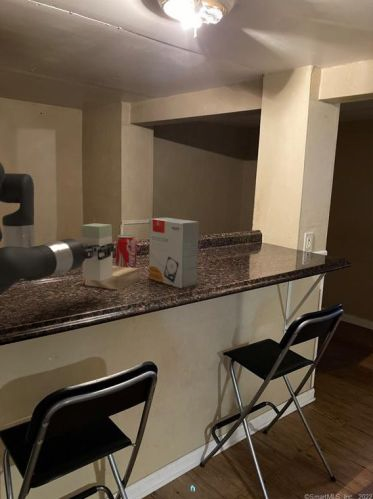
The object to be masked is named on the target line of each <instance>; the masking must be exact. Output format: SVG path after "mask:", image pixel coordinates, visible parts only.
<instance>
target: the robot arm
mask: <svg viewBox="0 0 373 499" xmlns="http://www.w3.org/2000/svg"><path fill="white" fill-rule="evenodd" d="M5 171H6V170H5V167H4V166H3V163H1V162H0V202H1V203H5V204H19V207H18V209H17V210H15V211H14V212H12V213H9V214H5V215H4V216H3V217H2V218H1V222H2V228H1V227H0V242H2V239H3V247H0V295H3V294H4V293H5V292H7V290H9V289H10V288H11V287H12V286H13V285H15V283H17V282H18V281H29V282H32V281H37V280H41V279H44V278H48V277H52V276H57V275H58V276H59V275H61V274H65V273H68V272H71V271H74V270H77V269H79V268H80V267H81V266H83V265H82V263H83V262H84V261H87V260H89V259H94V258H98V260H103V259H105V258H107V257H109V256H111V252H112V253H113V252H114V251H115V244H114V243H113V242H112V243H110V244H105V245H100V246H99V245H98V244H90V245H87V244H82V241H81V242H79V241H78V240H76V239H74V238H64V239H60V240H55V241H54V240H53V241H50V242H46V243H43V244H41V245H40V244H39V245H36V239H35V238H36V237H35V220H34V219H35V186H34V185H35V184H34V180H33V177H32V175H30V174H27V173H15V172H14V173H6V172H5ZM92 247H94V252H93V248H92ZM99 248H100V249H99Z"/></svg>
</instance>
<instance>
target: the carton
mask: <svg viewBox="0 0 373 499" xmlns="http://www.w3.org/2000/svg"><path fill="white" fill-rule="evenodd" d="M81 242H82V244H87V245H90V244H98V245H99V246H100V245H105V244H110V243H113V224H109V223H108V224H107V223H106V224H105V223H95V222H93V223H87V224H82V225H81ZM92 248H93V252H94V247H92ZM99 249H100V248H99ZM81 266H82V279H83V280H85V279H89V280H96V281H102V280H104V279H107V278H110V277H112V276H113V268H112V266H113V252H111V256H109V257H107V258H105V259H103V260H98V258H94V259H89V260H87V261H84V262H83V263H82V265H81Z"/></svg>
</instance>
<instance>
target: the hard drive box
mask: <svg viewBox="0 0 373 499" xmlns="http://www.w3.org/2000/svg"><path fill="white" fill-rule="evenodd" d="M148 220H149V221H148V224H149V225H148V226H149V227H148V228H149V230H148V233H149V234H148V235H149V238H148V241H149V242H148V247H149V248H148V254H149V255H148V258H149V259H148V261H149V262H148V273H149V274H148V276H149V277H148V279H149V280H153V281H155V282H160V283H162V284H166V285H169V286H171V285H172V286H171V287H175V288H177V289H178V288H180V289H183V287H184V288H188V287H192V286H196V285H198V271H199V270H198V269H199V267H198V265H199V235H200V234H199V233H200V232H199V230H200V222H199V221H195V220H188V219H180V218H172V217H155V218H153V217H152V218H149V219H148Z"/></svg>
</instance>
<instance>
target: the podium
mask: <svg viewBox="0 0 373 499" xmlns="http://www.w3.org/2000/svg"><path fill="white" fill-rule="evenodd" d="M112 268H113V276H112V277H110V278H107V279H104V280H102V281H96V280H89V279H84V286H89V287H97V288H103V289H110V290H116V291H118V290H121V289H123V288H127V287H128V286H131V285H133V284H135V283H138V282H140V268H129V267H120V266H116V265H112Z"/></svg>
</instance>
